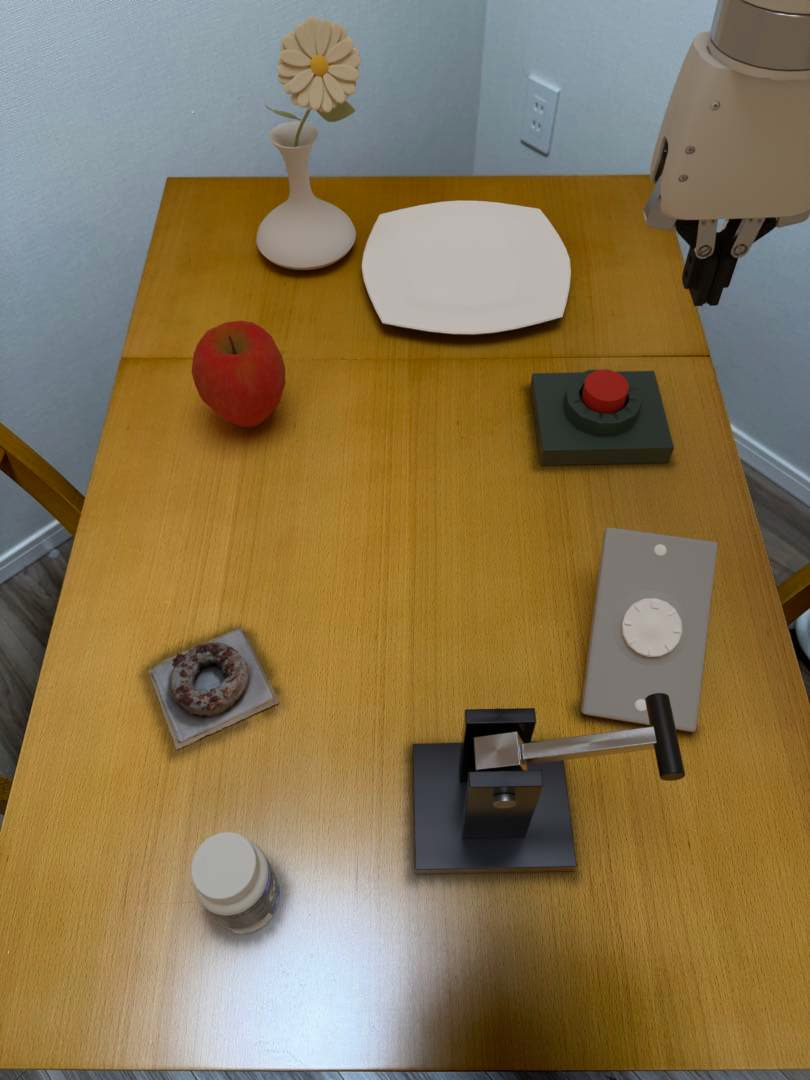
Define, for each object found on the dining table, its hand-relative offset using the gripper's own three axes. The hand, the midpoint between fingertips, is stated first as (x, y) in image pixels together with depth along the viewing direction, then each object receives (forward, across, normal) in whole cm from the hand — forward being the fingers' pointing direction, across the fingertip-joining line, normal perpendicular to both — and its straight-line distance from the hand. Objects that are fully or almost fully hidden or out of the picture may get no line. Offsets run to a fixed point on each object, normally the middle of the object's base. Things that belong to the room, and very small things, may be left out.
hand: (701, 293), depth 62 cm
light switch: (+21, +4, +18) cm, 28 cm away
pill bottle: (+21, +33, +36) cm, 53 cm away
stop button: (+17, +3, -7) cm, 19 cm away
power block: (+21, +4, -7) cm, 22 cm away
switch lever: (+11, +11, +30) cm, 34 cm away
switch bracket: (+21, +16, +30) cm, 40 cm away
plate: (+20, +15, -30) cm, 39 cm away
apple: (+20, +37, -8) cm, 43 cm away
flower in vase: (+20, +32, -35) cm, 52 cm away
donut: (+21, +38, +20) cm, 48 cm away
